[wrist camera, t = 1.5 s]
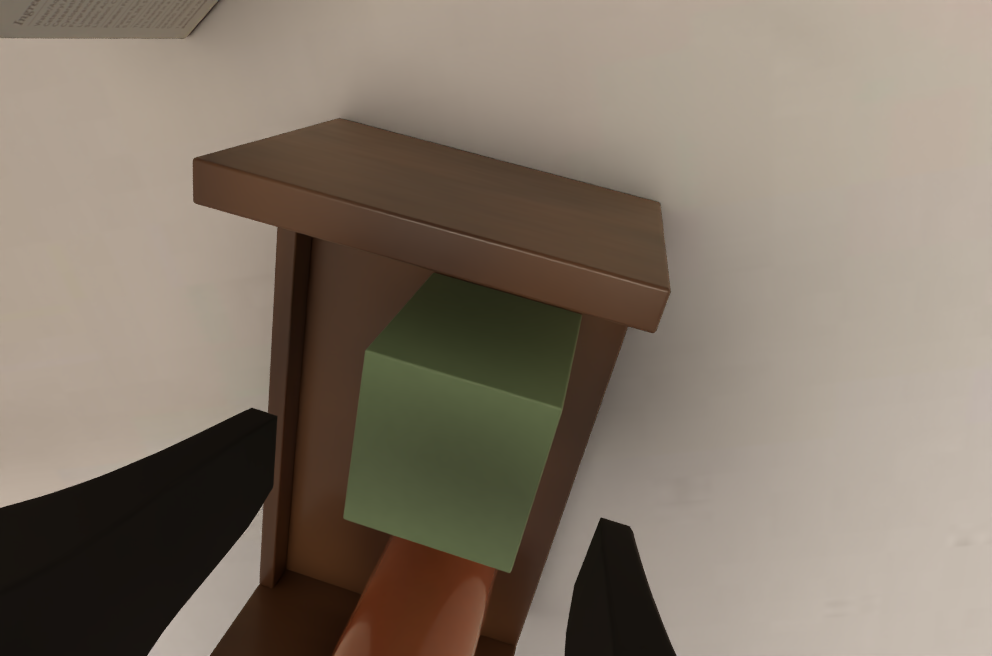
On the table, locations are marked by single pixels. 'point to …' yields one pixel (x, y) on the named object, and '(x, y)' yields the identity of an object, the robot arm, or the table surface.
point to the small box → (101, 18)
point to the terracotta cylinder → (419, 604)
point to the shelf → (370, 308)
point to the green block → (459, 418)
